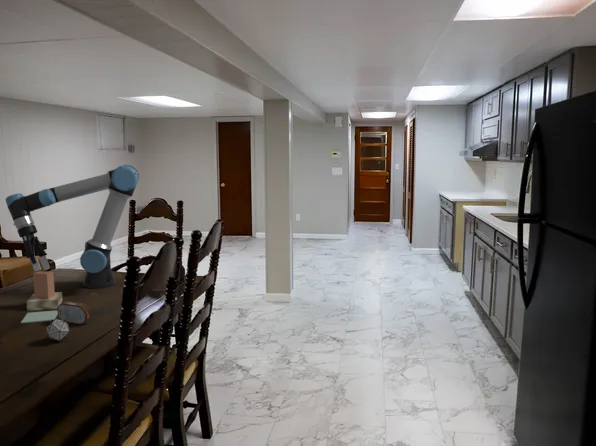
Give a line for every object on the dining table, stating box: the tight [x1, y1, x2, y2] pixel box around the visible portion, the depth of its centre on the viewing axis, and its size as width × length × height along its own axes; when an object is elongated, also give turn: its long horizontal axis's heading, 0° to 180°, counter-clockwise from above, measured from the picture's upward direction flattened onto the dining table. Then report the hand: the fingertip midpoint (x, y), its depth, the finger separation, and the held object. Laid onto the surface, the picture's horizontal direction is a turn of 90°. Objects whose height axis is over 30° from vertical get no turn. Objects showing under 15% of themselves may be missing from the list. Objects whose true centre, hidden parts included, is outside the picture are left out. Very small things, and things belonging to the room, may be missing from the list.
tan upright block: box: [32, 270, 56, 299], centre depth 210 cm, size 7×4×11 cm, turn 78°
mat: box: [20, 309, 58, 324], centre depth 197 cm, size 12×12×1 cm
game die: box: [43, 316, 73, 344], centre depth 172 cm, size 9×8×10 cm
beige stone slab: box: [26, 291, 63, 312], centre depth 211 cm, size 12×12×4 cm
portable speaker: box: [56, 300, 92, 326], centre depth 190 cm, size 15×3×8 cm, turn 71°
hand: (42, 269), depth 219 cm, fingers open, 13 cm apart
